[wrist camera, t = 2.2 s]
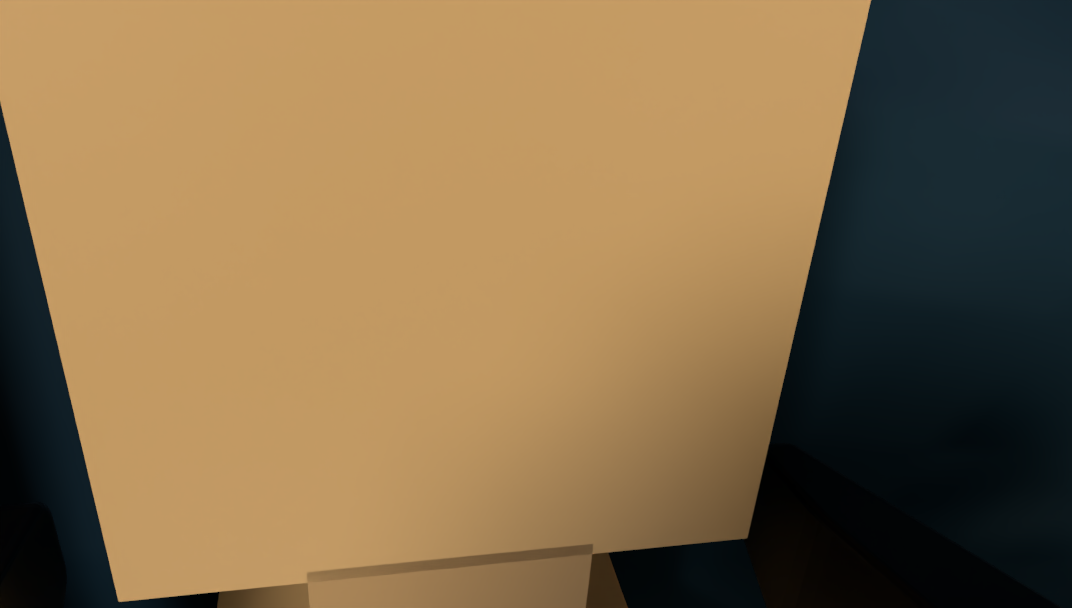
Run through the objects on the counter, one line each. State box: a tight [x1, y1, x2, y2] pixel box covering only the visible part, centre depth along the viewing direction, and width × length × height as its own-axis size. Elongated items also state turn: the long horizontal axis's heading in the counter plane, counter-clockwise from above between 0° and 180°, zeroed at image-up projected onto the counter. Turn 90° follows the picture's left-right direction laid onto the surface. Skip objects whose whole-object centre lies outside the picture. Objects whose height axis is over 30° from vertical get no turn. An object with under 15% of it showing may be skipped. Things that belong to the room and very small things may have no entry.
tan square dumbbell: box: [0, 0, 871, 608], centre depth 9 cm, size 4×12×4 cm, turn 176°
